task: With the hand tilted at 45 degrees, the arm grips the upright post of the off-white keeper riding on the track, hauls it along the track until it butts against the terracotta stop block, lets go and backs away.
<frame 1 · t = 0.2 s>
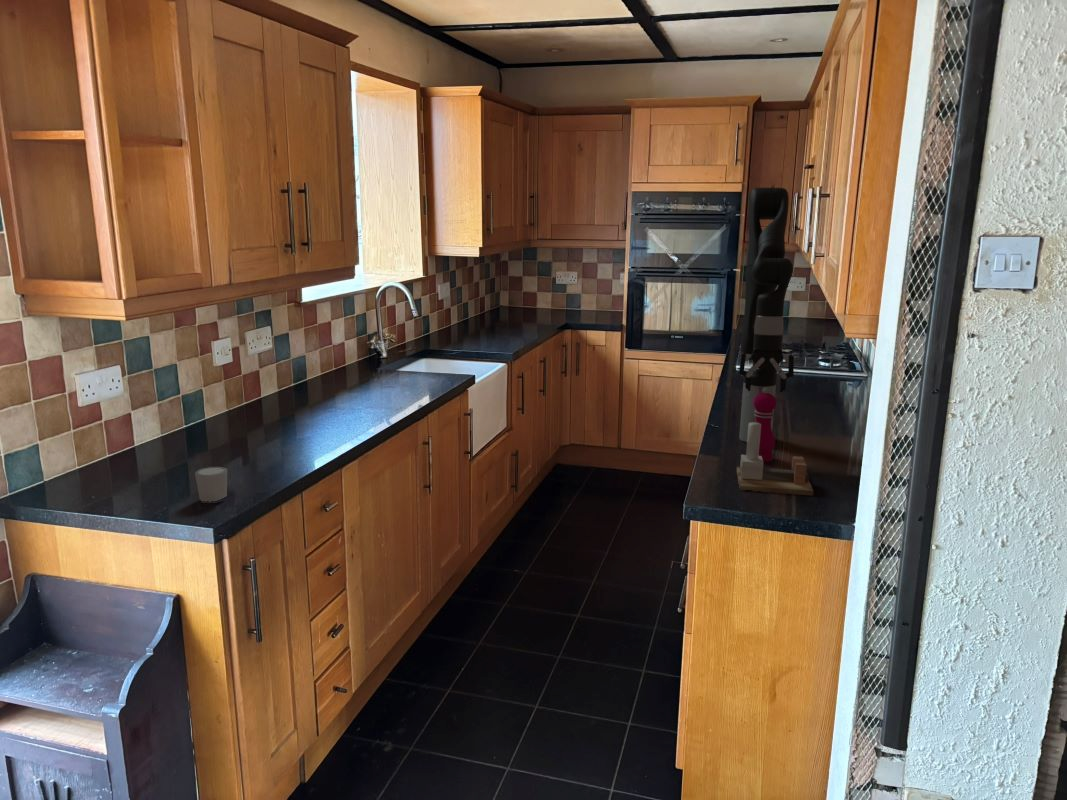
hand: (764, 391, 215), 18 cm above the worktop, tool pointing down, fingers open, 8 cm apart
pepper mill: (760, 459, 215), on the worktop
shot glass: (213, 500, 179), on the worktop
track: (773, 482, 195), on the worktop
keeper: (752, 449, 195), point 8 cm above the worktop, slide at 0.0 cm
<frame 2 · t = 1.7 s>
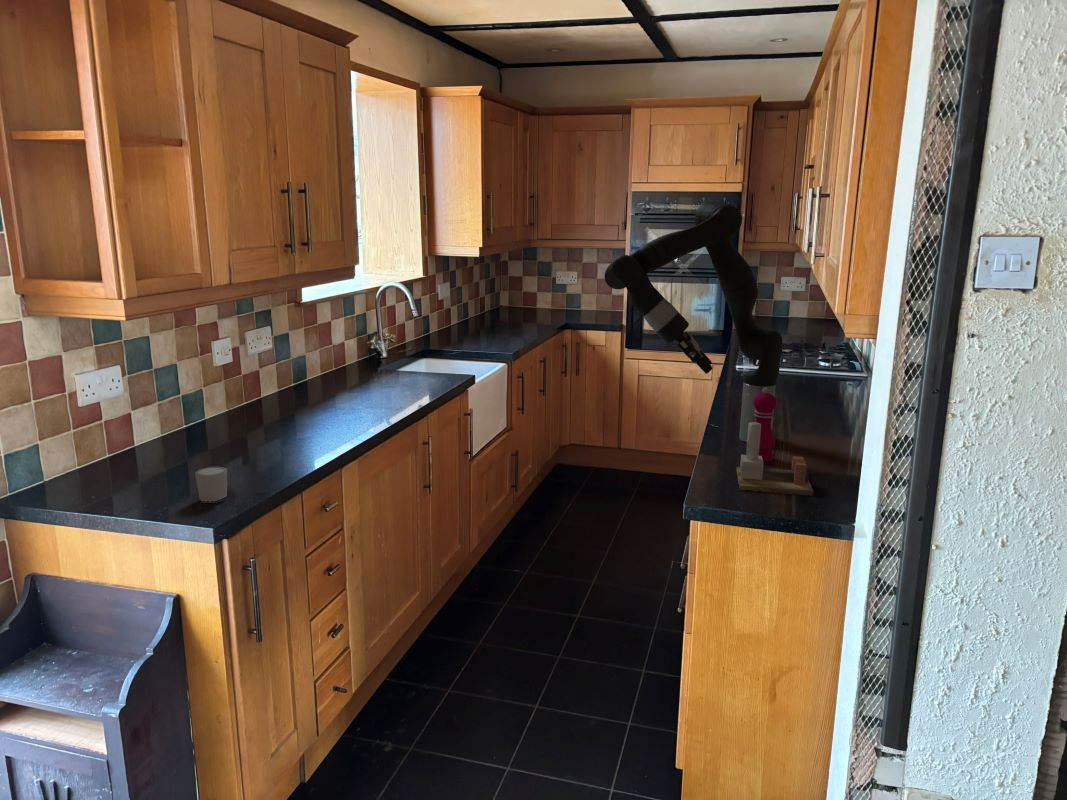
hand: (709, 368, 196), 27 cm above the worktop, tool tilted 45°, fingers open, 8 cm apart
nothing on the worktop moved.
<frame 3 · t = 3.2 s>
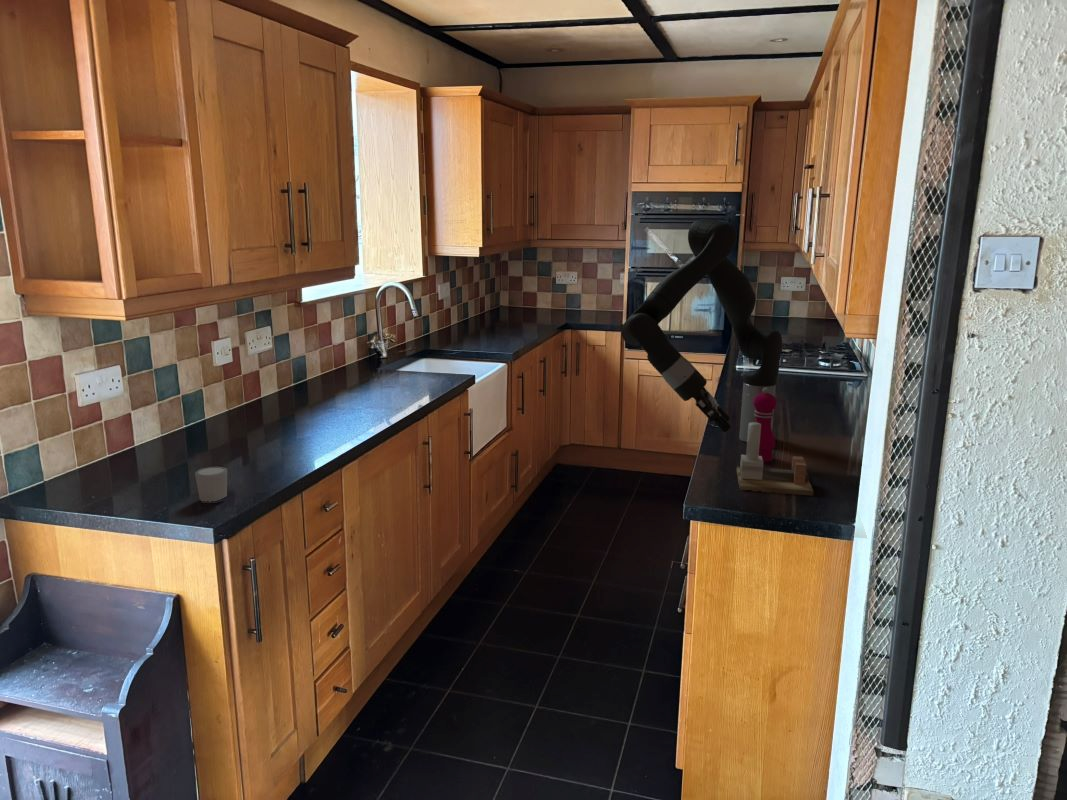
hand: (727, 425, 195), 14 cm above the worktop, tool tilted 45°, fingers open, 8 cm apart
nothing on the worktop moved.
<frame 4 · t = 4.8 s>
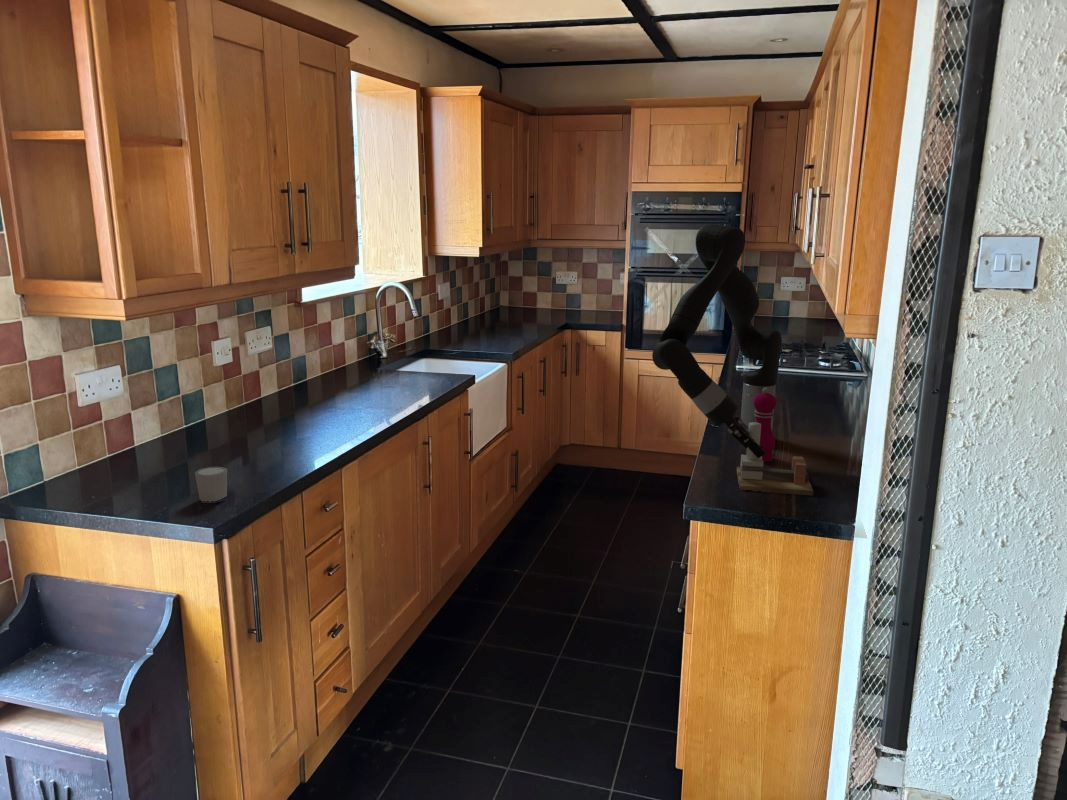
hand: (761, 453, 194), 7 cm above the worktop, tool tilted 45°, fingers closed on keeper, 3 cm apart
keeper: (752, 449, 195), point 8 cm above the worktop, slide at 0.0 cm, touching gripper
everything else where it was.
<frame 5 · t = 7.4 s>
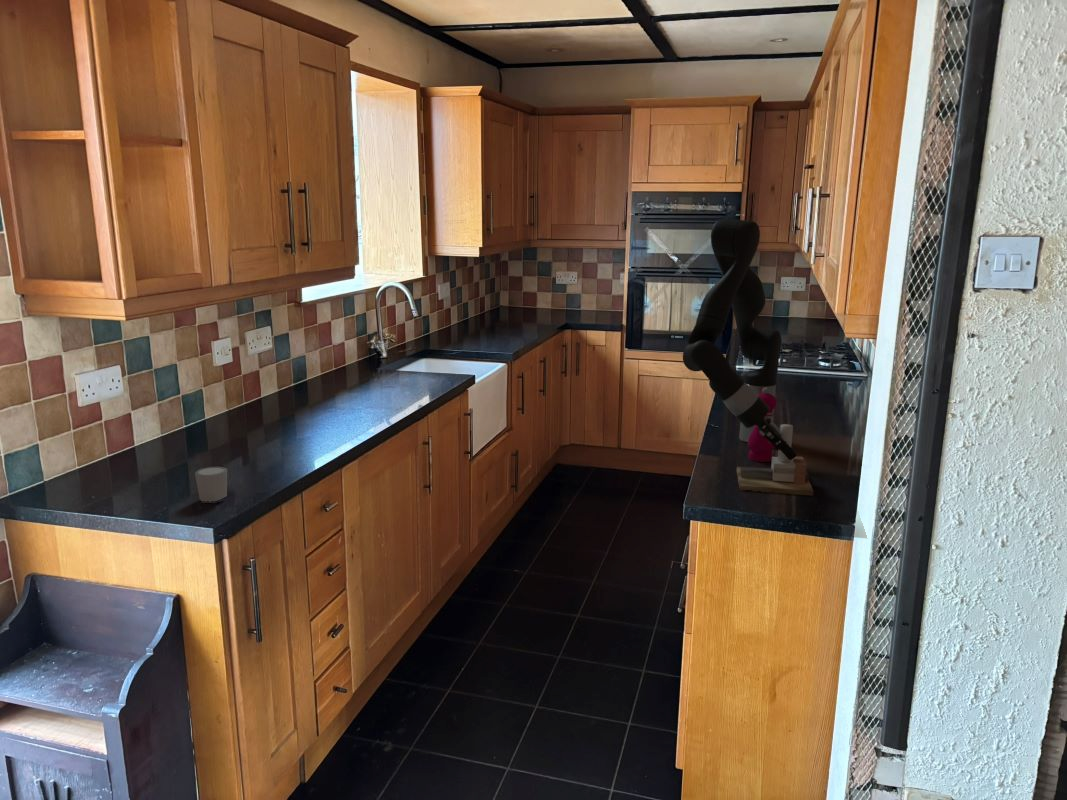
hand: (792, 455, 193), 7 cm above the worktop, tool tilted 45°, fingers closed on keeper, 3 cm apart
keeper: (784, 451, 193), point 8 cm above the worktop, slide at 7.6 cm, touching gripper
everything else where it was.
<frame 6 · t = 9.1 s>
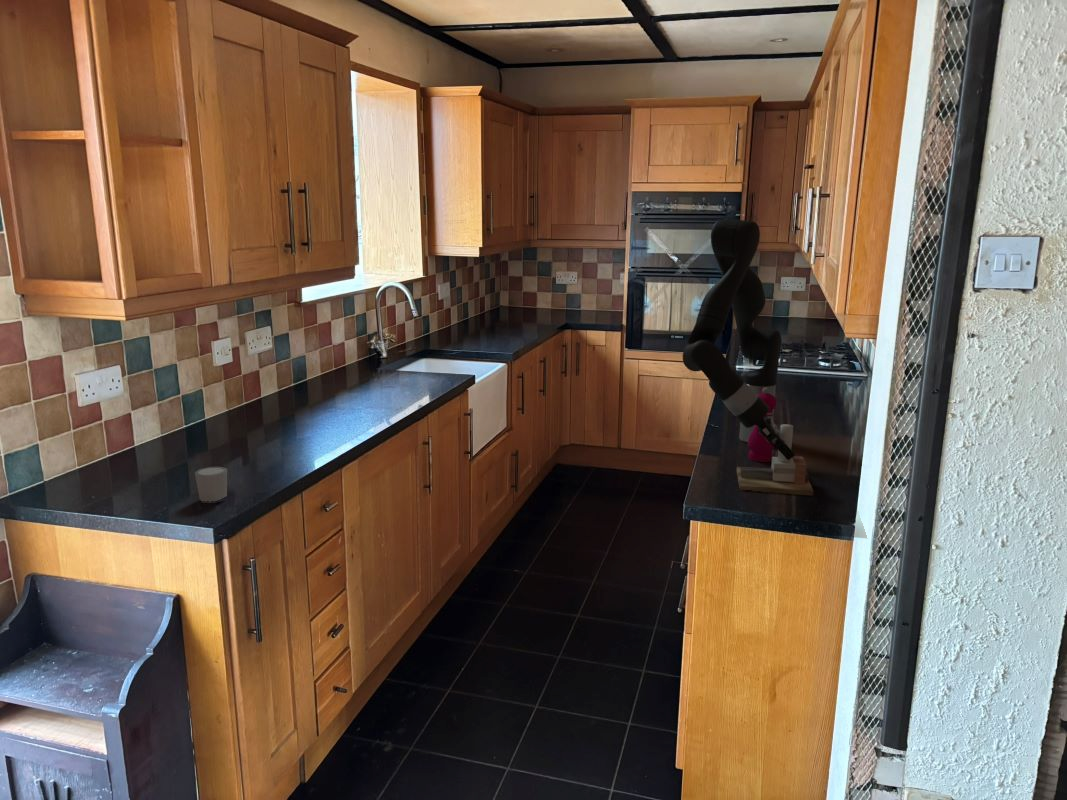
hand: (789, 452, 193), 8 cm above the worktop, tool tilted 45°, fingers open, 8 cm apart
keeper: (784, 451, 193), point 8 cm above the worktop, slide at 7.6 cm, touching track
everything else where it was.
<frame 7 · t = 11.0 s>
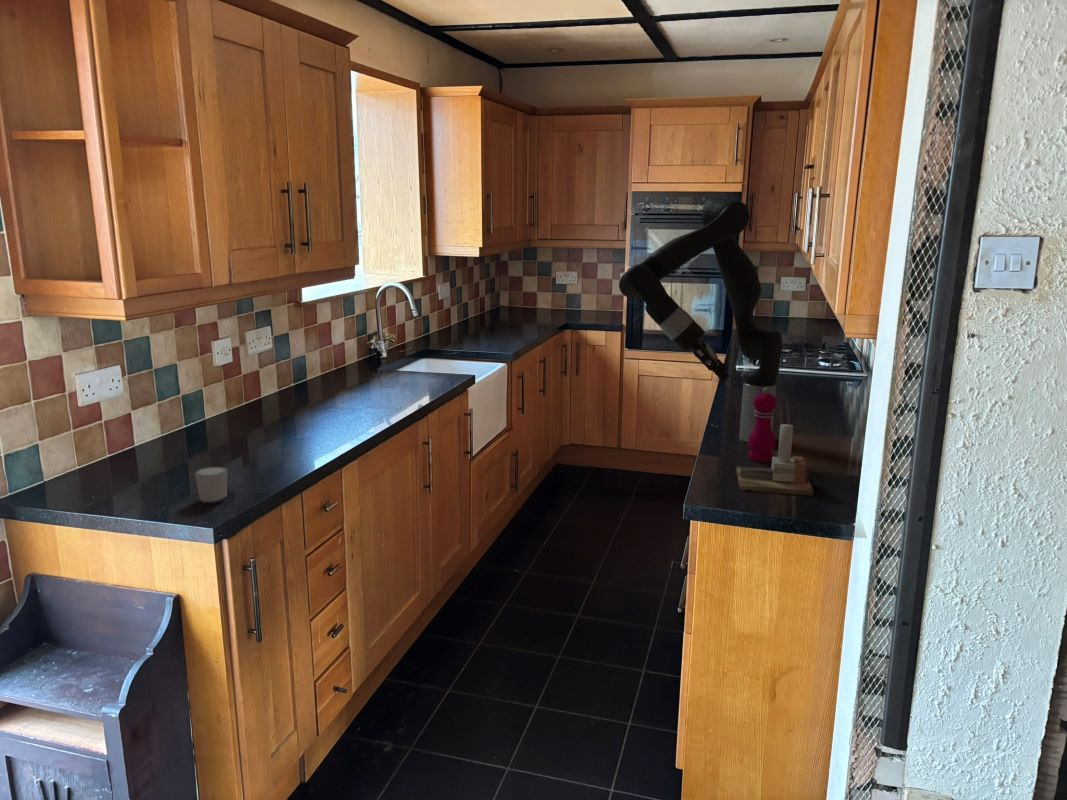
hand: (725, 375, 197), 26 cm above the worktop, tool tilted 45°, fingers open, 8 cm apart
nothing on the worktop moved.
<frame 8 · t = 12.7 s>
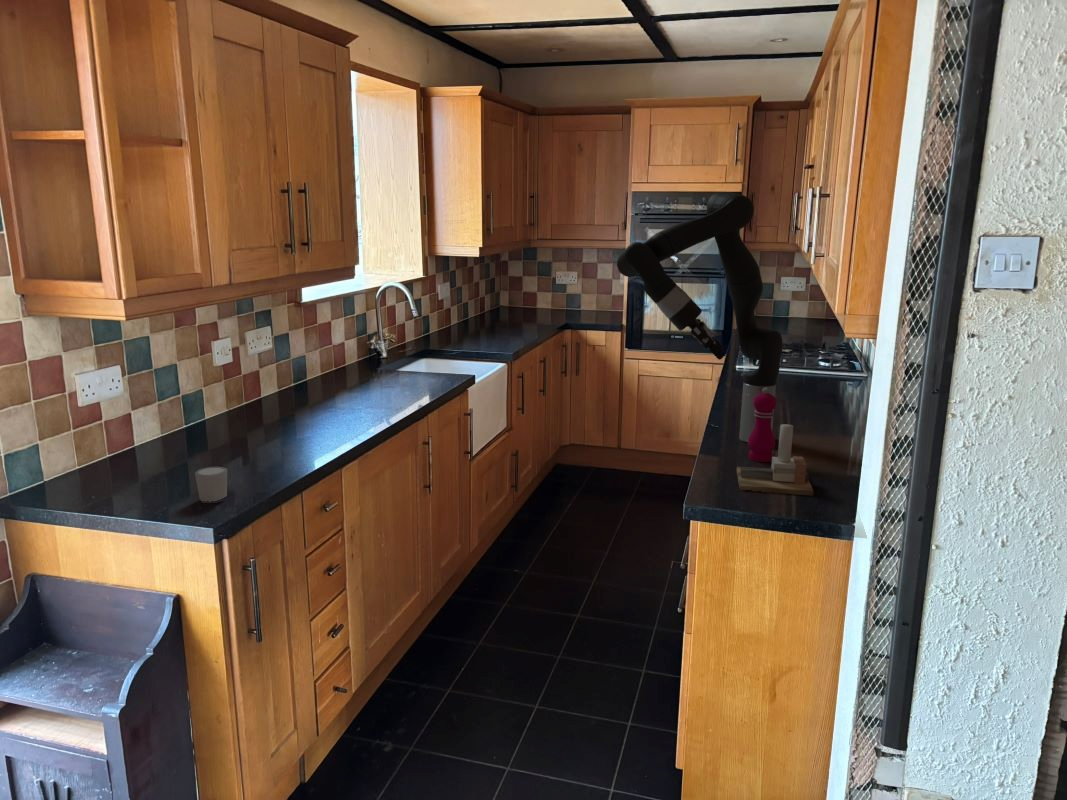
hand: (722, 354, 198), 31 cm above the worktop, tool tilted 45°, fingers open, 8 cm apart
nothing on the worktop moved.
at the end: keeper slide at 7.6 cm; the gripper is holding nothing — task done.
